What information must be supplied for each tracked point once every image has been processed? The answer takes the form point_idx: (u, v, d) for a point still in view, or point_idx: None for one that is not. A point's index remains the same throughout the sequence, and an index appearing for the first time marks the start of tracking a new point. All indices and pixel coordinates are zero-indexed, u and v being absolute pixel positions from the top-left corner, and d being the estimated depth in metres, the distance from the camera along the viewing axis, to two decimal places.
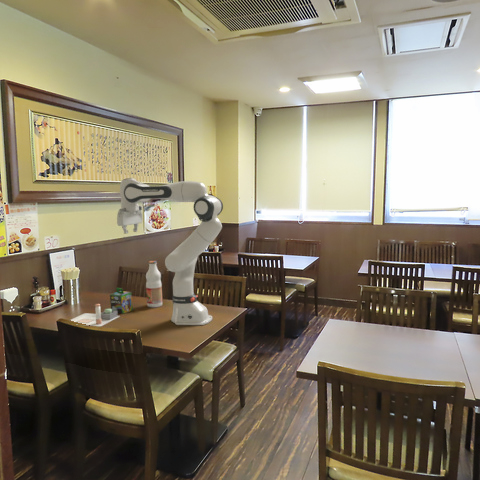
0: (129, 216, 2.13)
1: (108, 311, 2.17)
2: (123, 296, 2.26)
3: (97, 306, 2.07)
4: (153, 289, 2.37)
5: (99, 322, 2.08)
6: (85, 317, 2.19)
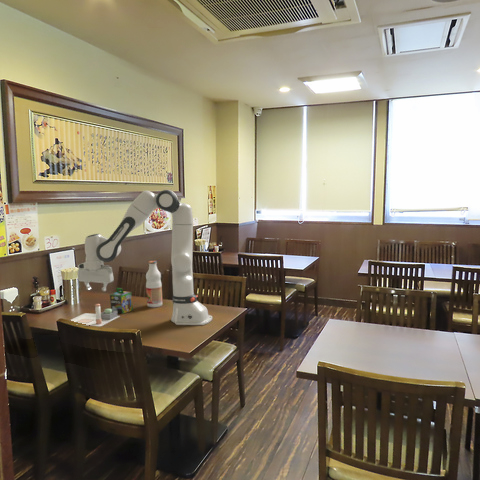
0: None
1: (108, 311, 2.17)
2: (123, 296, 2.26)
3: (97, 306, 2.07)
4: (153, 289, 2.37)
5: (99, 322, 2.08)
6: (85, 317, 2.19)
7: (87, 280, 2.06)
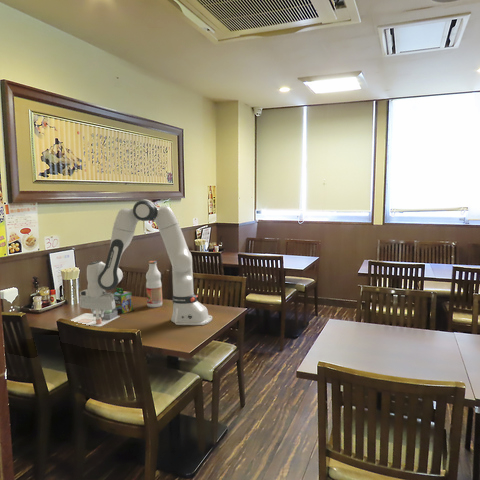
0: None
1: (108, 311, 2.17)
2: (123, 296, 2.26)
3: None
4: (153, 289, 2.37)
5: (99, 322, 2.08)
6: (85, 317, 2.19)
7: (89, 307, 2.07)
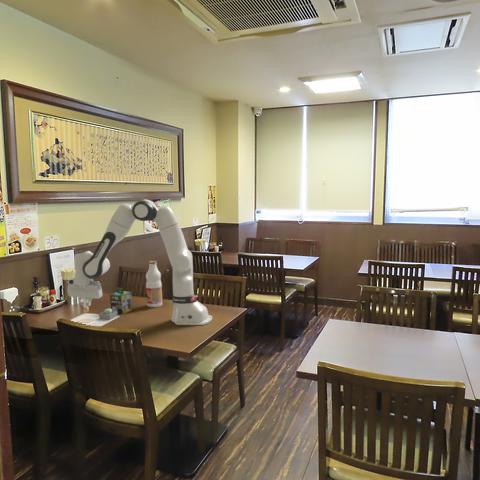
0: None
1: (108, 311, 2.17)
2: (123, 296, 2.26)
3: None
4: (153, 289, 2.37)
5: (86, 310, 2.11)
6: (85, 317, 2.19)
7: (76, 295, 2.10)
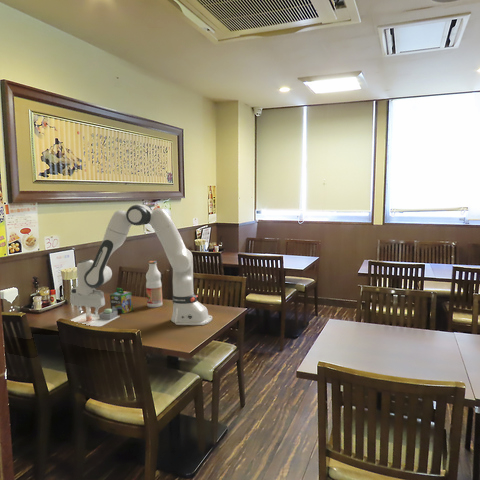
0: None
1: (108, 311, 2.17)
2: (123, 296, 2.26)
3: None
4: (153, 289, 2.37)
5: (89, 319, 2.13)
6: (85, 317, 2.19)
7: (79, 304, 2.12)
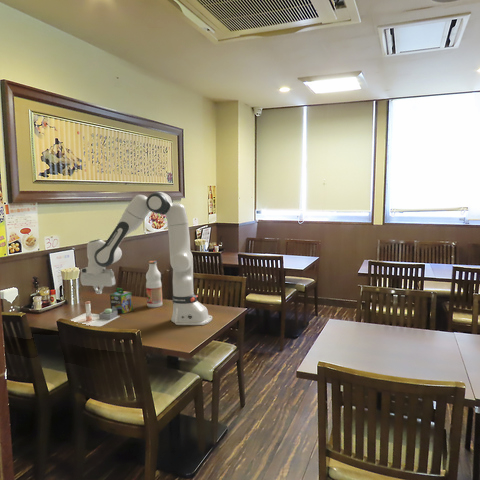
0: None
1: (108, 311, 2.17)
2: (123, 296, 2.26)
3: (87, 303, 2.12)
4: (153, 289, 2.37)
5: (89, 319, 2.13)
6: (85, 317, 2.19)
7: (90, 284, 2.14)
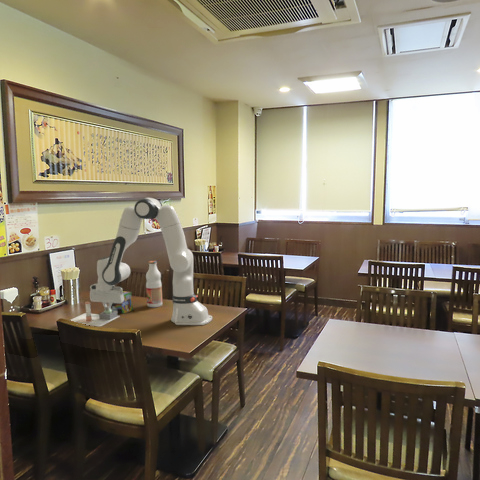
0: None
1: (108, 311, 2.17)
2: None
3: (87, 303, 2.12)
4: (153, 289, 2.37)
5: (89, 319, 2.13)
6: (85, 317, 2.19)
7: (99, 300, 2.17)
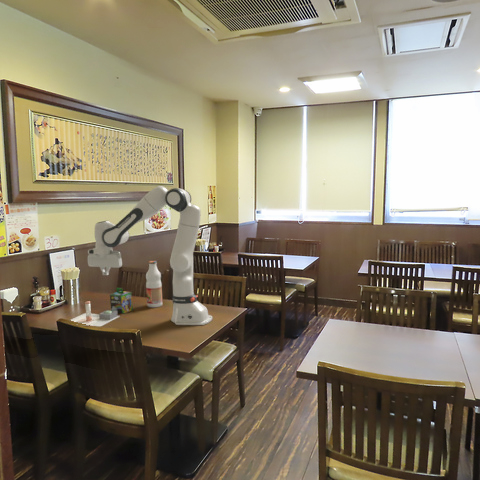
0: None
1: (108, 313, 2.17)
2: (123, 296, 2.26)
3: (87, 303, 2.12)
4: (153, 289, 2.37)
5: (89, 319, 2.13)
6: (85, 317, 2.19)
7: (97, 265, 2.15)
